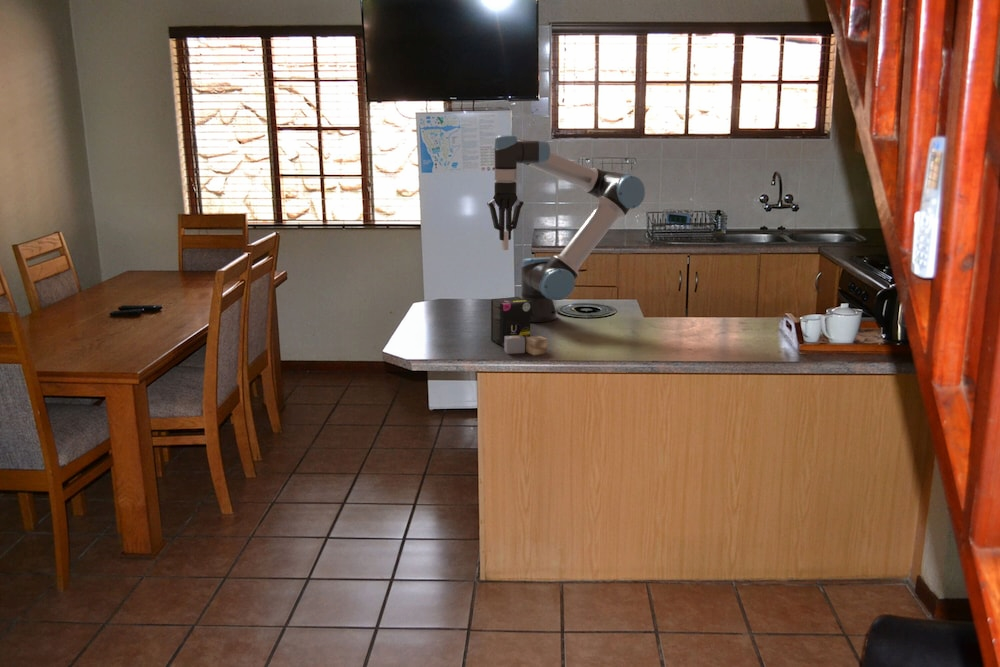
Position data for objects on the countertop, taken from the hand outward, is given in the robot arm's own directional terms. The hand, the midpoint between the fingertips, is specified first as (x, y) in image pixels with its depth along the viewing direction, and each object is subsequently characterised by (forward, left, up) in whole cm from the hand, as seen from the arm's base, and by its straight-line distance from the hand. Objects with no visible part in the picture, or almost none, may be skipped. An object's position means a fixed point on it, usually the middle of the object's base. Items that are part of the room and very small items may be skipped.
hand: (505, 249), depth 313 cm
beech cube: (0, +30, -30) cm, 42 cm away
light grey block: (+6, +27, -30) cm, 40 cm away
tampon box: (+3, +15, -30) cm, 33 cm away
